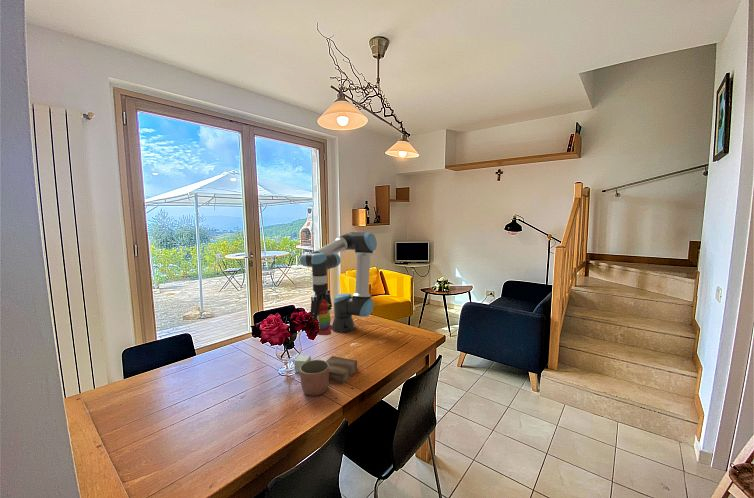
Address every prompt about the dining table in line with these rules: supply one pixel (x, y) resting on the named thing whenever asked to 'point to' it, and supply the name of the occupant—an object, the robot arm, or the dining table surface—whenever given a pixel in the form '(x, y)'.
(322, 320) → the stacking bear
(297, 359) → the block
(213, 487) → the dining table surface
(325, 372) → the planter
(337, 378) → the plinth
